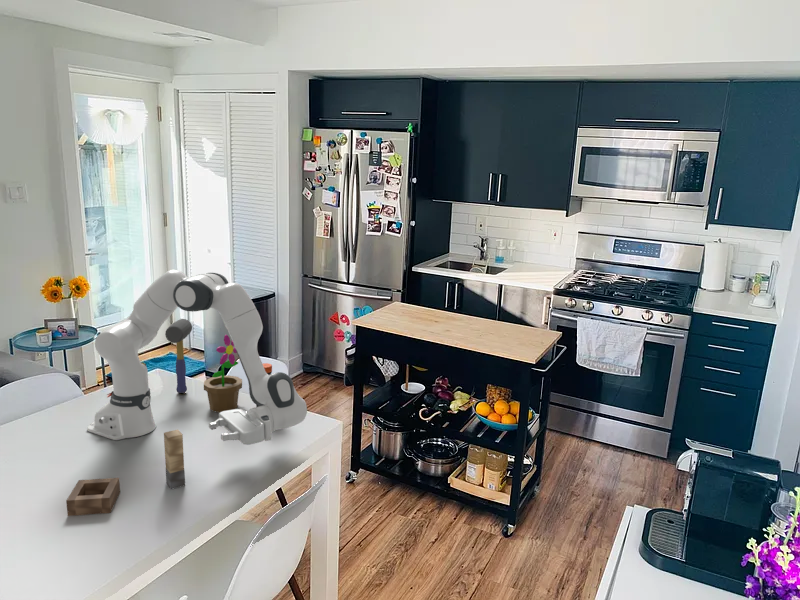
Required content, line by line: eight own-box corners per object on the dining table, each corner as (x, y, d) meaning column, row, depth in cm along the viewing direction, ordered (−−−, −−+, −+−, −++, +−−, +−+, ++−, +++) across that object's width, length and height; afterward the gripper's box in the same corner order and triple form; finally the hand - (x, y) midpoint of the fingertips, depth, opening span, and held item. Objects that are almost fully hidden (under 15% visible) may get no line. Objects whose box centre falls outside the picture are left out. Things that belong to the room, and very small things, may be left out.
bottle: (278, 415, 226) (278, 364, 222) (265, 421, 220) (265, 369, 216) (265, 411, 229) (265, 361, 225) (252, 417, 224) (251, 365, 219)
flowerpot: (222, 417, 222) (220, 339, 216) (196, 408, 230) (193, 332, 223) (251, 405, 234) (249, 331, 227) (225, 397, 241) (223, 324, 235)
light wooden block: (180, 479, 179) (178, 429, 176) (185, 485, 176) (182, 434, 173) (166, 483, 177) (163, 432, 173) (170, 489, 174) (168, 438, 170)
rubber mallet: (186, 399, 238) (182, 326, 231) (166, 398, 237) (163, 325, 231) (196, 387, 250) (193, 317, 243) (177, 387, 250) (174, 317, 243)
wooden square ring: (120, 492, 171) (119, 477, 170) (110, 512, 161) (109, 497, 160) (80, 494, 169) (78, 480, 168) (67, 515, 159) (66, 500, 158)
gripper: (244, 401, 196) (202, 410, 188) (272, 422, 181) (228, 434, 172) (245, 419, 198) (203, 429, 189) (273, 442, 182) (229, 454, 174)
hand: (215, 432), depth 181 cm, fingers open, 8 cm apart
